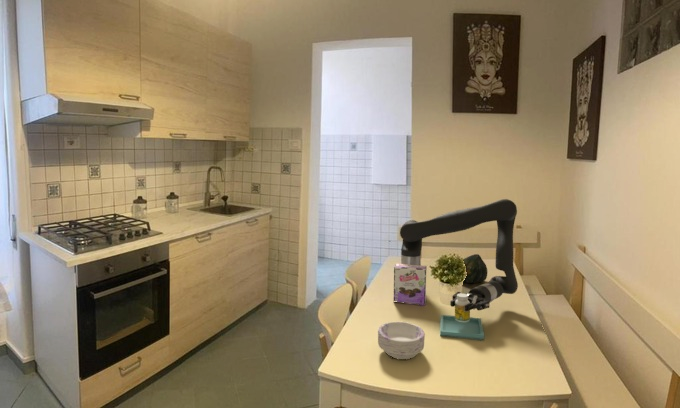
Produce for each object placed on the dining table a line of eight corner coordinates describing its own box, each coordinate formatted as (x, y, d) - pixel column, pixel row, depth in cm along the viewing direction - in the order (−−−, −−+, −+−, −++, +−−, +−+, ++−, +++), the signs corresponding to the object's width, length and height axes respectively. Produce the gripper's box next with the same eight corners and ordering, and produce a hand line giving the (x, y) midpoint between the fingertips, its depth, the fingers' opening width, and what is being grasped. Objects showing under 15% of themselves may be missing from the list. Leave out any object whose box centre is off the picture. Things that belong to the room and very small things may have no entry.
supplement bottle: (472, 321, 151) (473, 296, 150) (461, 324, 149) (461, 298, 148) (462, 315, 156) (463, 291, 155) (451, 318, 154) (452, 294, 152)
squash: (446, 269, 208) (465, 251, 200) (462, 265, 218) (480, 247, 210) (464, 293, 201) (484, 275, 193) (479, 287, 211) (499, 270, 203)
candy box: (393, 302, 179) (393, 266, 177) (395, 298, 185) (395, 262, 183) (425, 305, 176) (425, 268, 173) (426, 300, 181) (426, 265, 179)
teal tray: (440, 335, 148) (440, 331, 147) (440, 319, 162) (440, 314, 162) (483, 340, 144) (484, 335, 144) (480, 322, 158) (480, 318, 158)
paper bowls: (432, 360, 131) (433, 337, 130) (388, 368, 126) (389, 344, 125) (411, 339, 145) (411, 318, 144) (371, 345, 141) (371, 323, 140)
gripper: (467, 281, 166) (442, 291, 155) (500, 290, 155) (476, 302, 144) (466, 298, 167) (441, 310, 156) (499, 309, 156) (475, 322, 145)
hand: (458, 306), depth 150 cm, fingers closed on supplement bottle, 5 cm apart
